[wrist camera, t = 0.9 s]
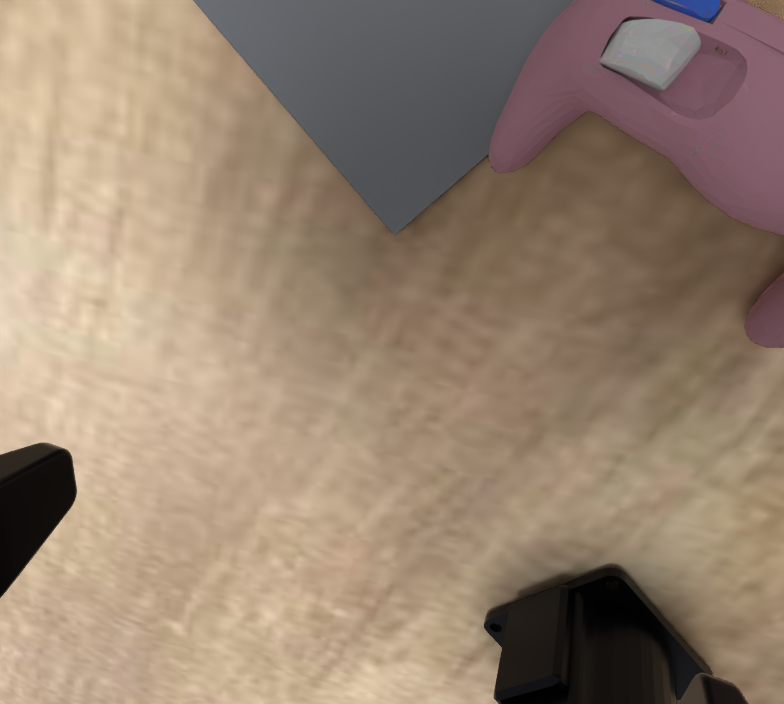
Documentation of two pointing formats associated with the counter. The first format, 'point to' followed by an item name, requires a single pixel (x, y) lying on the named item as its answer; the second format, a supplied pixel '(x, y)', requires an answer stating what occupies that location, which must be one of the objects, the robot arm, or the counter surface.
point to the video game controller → (669, 103)
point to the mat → (390, 82)
